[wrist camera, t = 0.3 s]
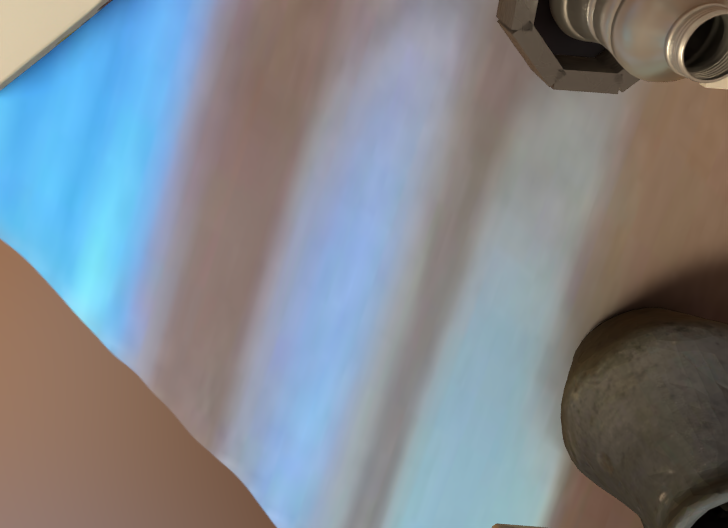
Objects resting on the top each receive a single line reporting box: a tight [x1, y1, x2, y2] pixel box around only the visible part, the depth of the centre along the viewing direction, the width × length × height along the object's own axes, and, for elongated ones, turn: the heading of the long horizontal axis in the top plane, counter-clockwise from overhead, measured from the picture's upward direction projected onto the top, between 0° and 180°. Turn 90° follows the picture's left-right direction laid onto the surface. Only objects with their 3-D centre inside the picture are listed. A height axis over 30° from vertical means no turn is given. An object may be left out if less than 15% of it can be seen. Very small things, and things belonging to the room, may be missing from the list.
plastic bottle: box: [549, 0, 728, 83], centre depth 42 cm, size 6×7×20 cm
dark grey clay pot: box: [561, 308, 728, 528], centre depth 59 cm, size 21×22×25 cm
